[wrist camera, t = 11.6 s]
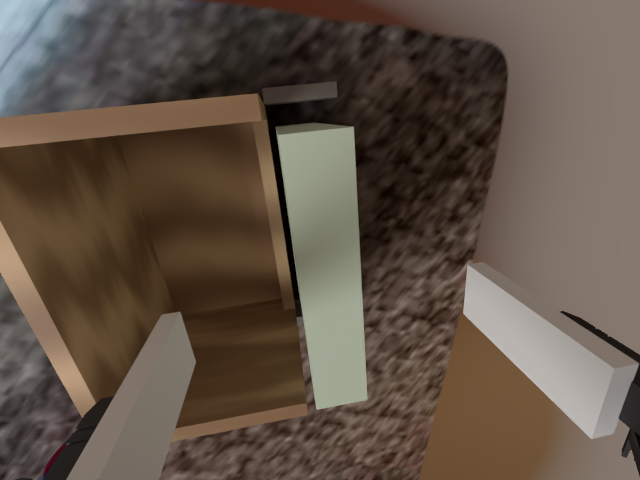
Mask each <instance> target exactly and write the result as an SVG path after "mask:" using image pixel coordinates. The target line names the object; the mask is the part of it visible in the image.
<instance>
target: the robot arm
mask: <svg viewBox="0 0 640 480" xmlns="http://www.w3.org/2000/svg"><path fill="white" fill-rule="evenodd" d="M463 314H464V315H465V316H466V317H467V318H468V319H469V320H470V321H472V323H473V324H474V325H475V326H476V327H477V328H478V329H480V330H481V331H482V332H483V333H484V334H485V335H486V336H487V337H488V338H489V339H490V340H491V341H492V342H493V343H494V344H495V345H496V346H497V347H498V348H499V349H500V350H501V351H502V352H503V353H504V354H505V355H506V356H507V357H508V358H509V359H510V360H511V361H512V362H513V363H514V364H515V365H516V366H517V367H518V368H519V369H520V370H521V371H522V372H523V373H524V374H525V375H526V376H528V378H529V379H530V380H532V381H533V382H534V383H535V384H536V385H537V386H538V387H539V388H540V389H541V390H542V391H543V392H544V393H545V394H546V395H547V396H548V397H549V398H550V399H551V400H552V401H553V402H554V403H555V404H556V405H557V406H558V407H559V408H560V409H561V410H562V411H563V412H564V413H565V414H566V415H567V416H568V417H569V418H570V419H571V420H573V422H574V423H575V424H576V425H577V426H578V427H580V428H581V429H582V430H583V431H584V432H585V433H586V434H587V435H588V436H589V437H590V438H591V439H594V438H598V437H602V436H607V435H611V434H614V432H615V429H616V426H617V424H618V421H619V419H620V420H621V421H622V422H623V423H625V424H626V425H627V426H628V427H629V428H630V430H629V433H628V435H627V438H626V441H625V443H624V446H623V448H622V456H623V457H627V456H628V453H629V451H630V450H632V452H633V455H634V460H635V462H636V465H637V469H638V472H639V475H640V355H639V354H637V353H636V352H634V351H633V350H631V349H629V348H628V347H626V346H625V345H623V344H621V343H619V342H618V341H617V340H615V339H613V338H612V337H608V336H607V334H605V333H604V332H602V331H601V330H599V329H596V328H595V327H594V326H593V325H591V324H589V323H588V322H586V321H584V320H583V319H581V318H579V317H576V316H574V315H572V314H569V313H567V312H564V311H561V312H559V311H557V310H556V309H554V308H553V307H551V306H550V305H548V304H546V303H545V302H544V301H542V300H540V299H539V298H537V297H536V296H534V295H533V294H531V293H530V292H528V291H526V290H525V289H523V288H522V287H520V286H519V285H517V284H516V283H514V282H513V281H511V280H509V279H508V278H506V277H505V276H503V275H502V274H500V273H499V272H497V271H496V270H494V269H493V268H491V267H489V266H488V265H486V264H485V263H483V262H481V263H474V264H468V266H467V277H466V289H465V300H464V312H463ZM195 364H196V360H195V357H194V354H193V351H192V347H191V344H190V341H189V338H188V335H187V332H186V328H185V325H184V322H183V319H182V316H181V312H175V313H169V314H163V315H161V317H160V318H159V320H158V322H157V323H156V325H155V327H154V329H153V330H152V332H151V334H150V336H149V337H148V339H147V341H146V343H145V344H144V346H143V348H142V349H141V351H140V353H139V355H138V356H137V358H136V360H135V362H134V363H133V365H132V367H131V369H130V370H129V372H128V374H127V375H126V377H125V379H124V381H123V382H122V384H121V386H120V388H119V389H118V391H117V393H116V394H115V396H112V397H107V398H102V399H100V400H99V401H98V402H97V403H96V404H95V405H94V406H93V407H92V408H91V409H90V410H89V411H88V412H87V413H86V414H85V415H84V417H83V418H82V420H81V421H80V423H79V424H78V426H77V428H76V429H75V433H73V434H72V435H71V437H70V438H69V440H68V442H67V443H66V447H64V448H63V449H62V451H61V452H60V454H59V456H58V457H57V459H56V460H55V462H54V463H53V465H52V466H51V468H50V470H49V471H48V473H47V474H46V476H45V477H44V479H43V480H159V478H160V475H161V471H162V468H163V465H164V462H165V459H166V456H167V452H168V449H169V446H170V443H171V440H172V437H173V434H174V430H175V427H176V424H177V421H178V418H179V415H180V411H181V408H182V405H183V402H184V399H185V396H186V392H187V389H188V386H189V383H190V380H191V377H192V373H193V370H194V367H195ZM16 480H32V479H29V478H20V479H16Z"/></svg>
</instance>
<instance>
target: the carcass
mask: <svg viewBox="0 0 640 480" xmlns="http://www.w3.org/2000/svg"><path fill="white" fill-rule="evenodd" d="M262 93H263V99H264V103H263V101H262V100H261V98H260V97H259V95H258V93H256V94H245V95H235V96H224V97H214V98H203V99H193V100H182V101H171V102H161V103H150V104H140V105H129V106H119V107H108V108H98V109H87V110H77V111H66V112H55V113H45V114H34V115H24V116H13V117H3V118H0V273H1V274H2V276H3V278H4V280H5V281H6V283H7V285H8V287H9V289H10V290H11V292H12V294H13V296H14V297H15V299H16V301H17V303H18V305H19V306H20V308H21V310H22V312H23V313H24V315H25V317H26V319H27V321H28V322H29V324H30V326H31V328H32V329H33V331H34V333H35V335H36V337H37V338H38V340H39V342H40V344H41V345H42V347H43V349H44V351H45V353H46V354H47V356H48V358H49V360H50V361H51V363H52V365H53V367H54V369H55V370H56V372H57V374H58V376H59V377H60V379H61V381H62V383H63V385H64V386H65V388H66V390H67V392H68V393H69V395H70V397H71V399H72V401H73V402H74V404H75V406H76V408H77V409H78V411H79V413H80V415H81V417H82V418H83V417H84V415H85V414H86V413H87V412H88V411H89V410H90V409H91V408H92V407H93V406H94V405H95V404H96V403H97V402H98V401H99V400H100V399H102V398H107V397H112V396H115V394H116V393H117V391H118V389H119V388H120V386H121V384H122V382H123V381H124V379H125V377H126V375H127V374H128V372H129V370H130V369H131V367H132V365H133V363H134V362H135V360H136V358H137V356H138V355H139V353H140V351H141V349H142V348H143V346H144V344H145V343H146V341H147V339H148V337H149V336H150V334H151V332H152V330H153V329H154V327H155V325H156V323H157V322H158V320H159V318H160V317H161V315H163V314H169V313H175V312H181V316H182V319H183V322H184V325H185V328H186V332H187V335H188V338H189V341H190V344H191V347H192V351H193V354H194V357H195V360H196V364H195V367H194V370H193V373H192V377H191V380H190V383H189V386H188V389H187V392H186V396H185V399H184V402H183V405H182V408H181V411H180V415H179V418H178V421H177V424H176V427H175V430H174V434H173V437H172V440H171V442H173V441H178V440H183V439H188V438H193V437H198V436H203V435H208V434H213V433H218V432H223V431H228V430H234V429H239V428H244V427H249V426H254V425H259V424H264V423H269V422H274V421H279V420H284V419H289V418H294V417H299V416H304V415H308V411H307V403H306V394H305V386H304V377H303V369H302V360H301V352H300V343H299V335H298V326H303V325H304V322H303V316H302V309H301V302H300V299H296V300H294V294H293V287H292V281H291V274H290V267H289V261H288V254H287V247H286V241H285V234H284V227H283V221H282V214H281V207H280V201H279V194H278V187H277V181H276V174H275V167H274V161H273V154H272V147H271V141H270V134H269V128H268V121H267V114H266V108H265V106H269V105H279V104H289V103H300V102H310V101H320V100H330V99H333V98H336V97H338V95H337V81H334V82H324V83H313V84H302V85H292V86H281V87H270V88H262ZM297 324H298V326H297Z"/></svg>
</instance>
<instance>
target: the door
mask: <svg viewBox="0 0 640 480" xmlns="http://www.w3.org/2000/svg"><path fill="white" fill-rule="evenodd" d="M275 127H276V134H277V141H278V148H279V155H280V162H281V169H282V176H283V183H284V190H285V197H286V204H287V211H288V218H289V225H290V233H291V240H292V247H293V254H294V261H295V268H296V275H297V282H298V289H299V296H300V302H301V309H302V316H303V322H304V329H305V336H306V342H307V349H308V356H309V362H310V369H311V376H312V382H313V389H314V396H315V403H316V409H317V410H318V409H323V408H328V407H333V406H338V405H343V404H348V403H353V402H358V401H363V400H367V383H366V363H365V343H364V323H363V302H362V282H361V262H360V242H359V222H358V201H357V181H356V161H355V141H354V127H351V126H341V125H331V124H322V123H303V124H293V125H284V126H275Z"/></svg>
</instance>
